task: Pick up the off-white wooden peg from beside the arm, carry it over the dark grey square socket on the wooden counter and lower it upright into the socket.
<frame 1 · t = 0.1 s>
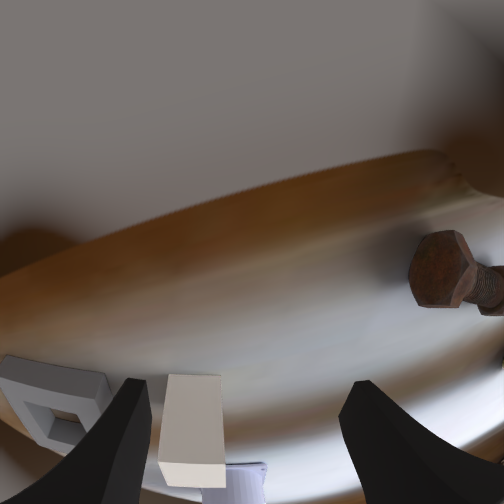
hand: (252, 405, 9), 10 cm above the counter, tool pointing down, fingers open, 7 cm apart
bolt: (464, 274, 21), on the counter
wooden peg: (196, 391, 22), on the counter
socket block: (68, 405, 22), on the counter
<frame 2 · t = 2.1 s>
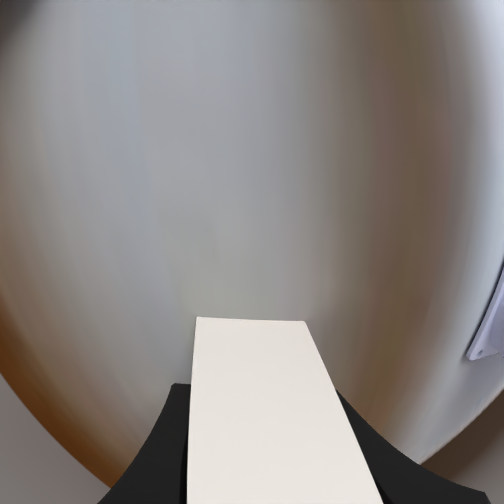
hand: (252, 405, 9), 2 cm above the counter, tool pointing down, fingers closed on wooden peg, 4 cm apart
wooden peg: (246, 360, 11), on the counter, touching gripper
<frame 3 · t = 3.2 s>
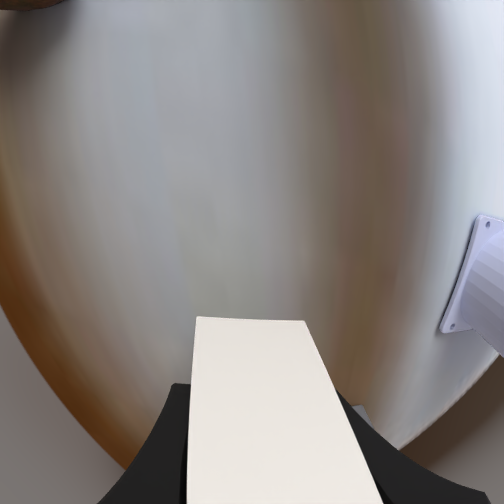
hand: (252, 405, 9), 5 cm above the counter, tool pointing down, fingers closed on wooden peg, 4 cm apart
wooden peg: (245, 360, 11), point 3 cm above the counter, touching gripper
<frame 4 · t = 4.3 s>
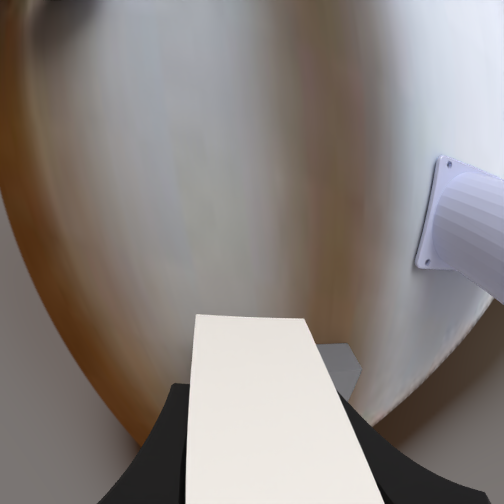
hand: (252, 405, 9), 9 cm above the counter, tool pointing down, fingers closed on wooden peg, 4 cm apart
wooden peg: (245, 358, 11), point 7 cm above the counter, touching gripper
socket block: (264, 396, 22), on the counter
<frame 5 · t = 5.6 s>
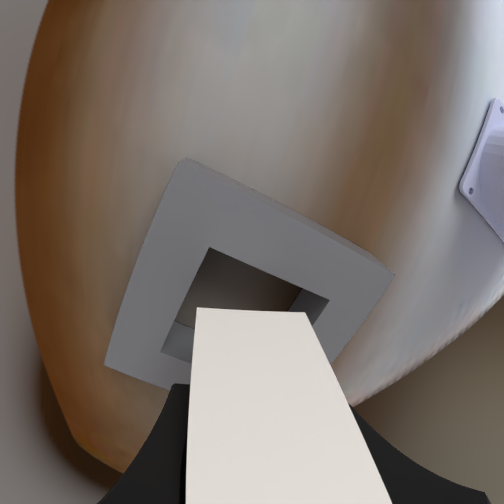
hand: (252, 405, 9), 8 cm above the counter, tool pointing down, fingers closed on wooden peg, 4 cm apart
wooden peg: (246, 352, 11), point 5 cm above the counter, touching gripper
socket block: (238, 297, 16), on the counter
when the fingers open (4 cm above the counter, at t = 6.7 s): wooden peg drops 2 cm, resting in socket block.
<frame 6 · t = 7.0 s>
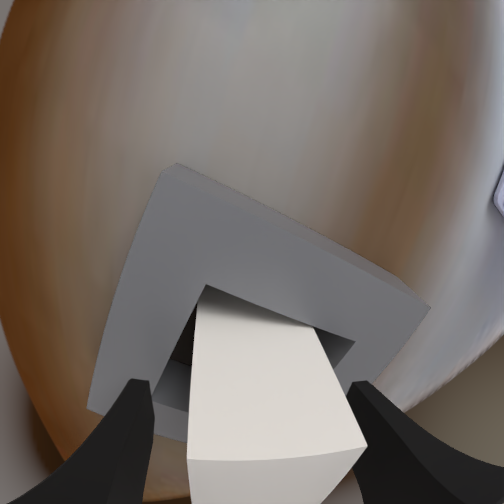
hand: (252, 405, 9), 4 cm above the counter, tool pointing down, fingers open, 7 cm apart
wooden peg: (242, 325, 13), resting in socket block
socket block: (242, 331, 13), on the counter
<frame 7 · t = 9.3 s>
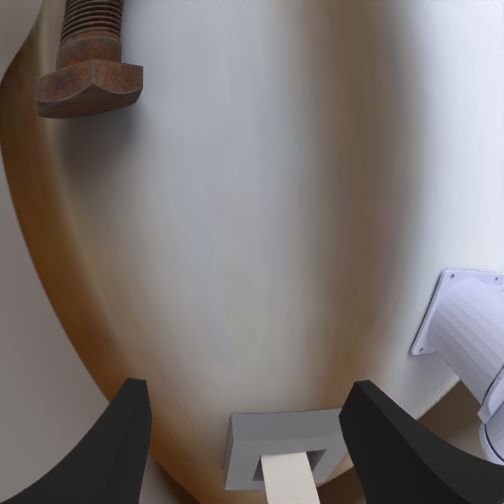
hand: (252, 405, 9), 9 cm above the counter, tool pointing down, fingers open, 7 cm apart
bolt: (112, 2, 11), on the counter
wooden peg: (281, 441, 25), resting in socket block
socket block: (282, 443, 25), on the counter
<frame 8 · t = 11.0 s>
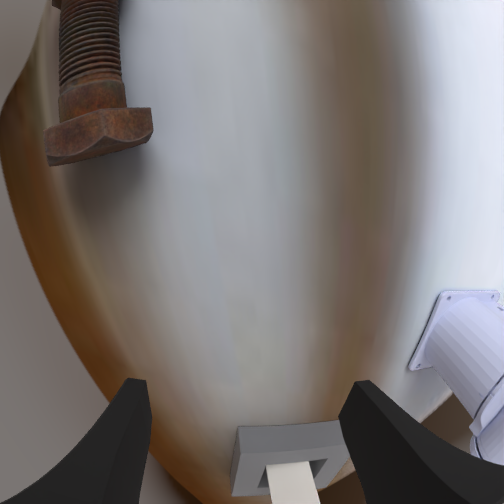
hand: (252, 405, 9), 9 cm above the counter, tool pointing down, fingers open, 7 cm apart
bolt: (106, 34, 12), on the counter
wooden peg: (285, 450, 26), resting in socket block
socket block: (285, 452, 26), on the counter
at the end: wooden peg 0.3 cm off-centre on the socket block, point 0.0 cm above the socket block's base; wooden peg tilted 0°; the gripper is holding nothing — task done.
